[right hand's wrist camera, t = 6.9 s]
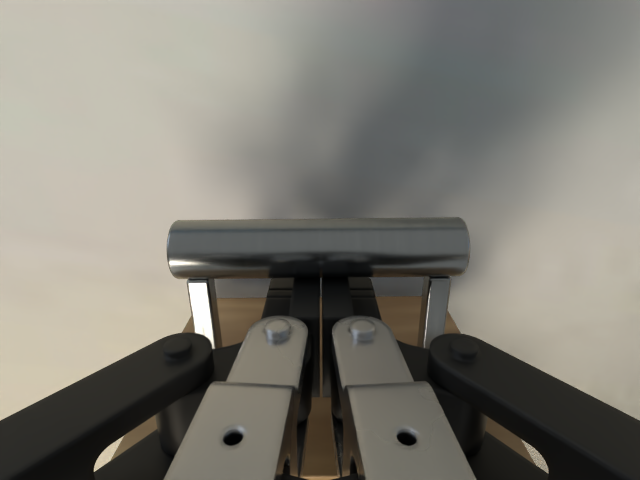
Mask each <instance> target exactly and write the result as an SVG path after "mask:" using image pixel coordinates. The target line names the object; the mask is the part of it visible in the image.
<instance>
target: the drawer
mask: <svg viewBox="0 0 640 480" xmlns="http://www.w3.org/2000/svg"><path fill="white" fill-rule="evenodd" d="M469 257H470V239H469V233H468V229H467V226H466V224H465V222H464V220H463V219H461V218H459V217H436V218H342V219H249V220H178V221H175V222H174V223H173V224H172V226H171V228H170V231H169V234H168V240H167V260H168V265H169V269H170V271H171V273H172V275H173V276H174V277H175V278H177V279H188V280H187V287H188V294H189V300H190V307H191V313H192V316H191V317H190V319H189V321H188V323H187V325H186V326H185V328H184V330H183V332H182V333H187V332H189V333H198V334H202V335H204V336H206V337H207V338H208V339H209V340H210V341H211V343H212V349H216V348H221V347H226V346H230V345H234V344H237V343H240V342H242V341H244V339H245V336H246V334H247V332H248V330H249V328H250V327H251V326H252V325H253V324H254V323H255V322H257V321H259V320H261V317H262V313H263V309H264V305H265V301H266V298H217V297H216V289H215V281H214V279H233V278H332V277H424V280H423V291H422V296H398V297H375V298H376V300H377V304H378V308H379V311H380V315H381V319H382V321H383V322H385V323H386V324H387V325H388V326H389V327H390V328H391V330H392V332H393V334H394V337H395V339H397V340H399V341H401V342H403V343H406V344H409V345H413V346H418V347H423V348H427V349H429V347H430V343H431V341H432V340H433V339H434V338H435V337H437V336H439V335H442V334H448V333H458V334H461V333H460V331H459V330H458V328H457V326H456V324H455V322H454V321H453V319H452V317H451V315H450V314H449V312H448V310H447V309H448V301H449V293H450V286H451V278H450V276H461V275H463V274H464V273H465V271H466V269H467V267H468V263H469ZM156 429H157V424H156V419H155V415H154V416H153V417H151V418H150V419H148V420H147V421H145V422H144V423H142V424H141V425H139V426H138V427H136V428H135V429H133V430H132V431H130V432H129V433H127V434H125V436H124V437H123V439H122V441H121V443H120V445H119V446H118V448H117V450H116V452H115V453H114V455H113V457H112V459H111V460H113V459H114V458H116V457H117V456H118V455H120V454H121V453H123V452H124V451H126V450H127V449H129V448H130V447H132V446H133V445H134V444H136V443H137V442H139V441H140V440H142V439H143V438H145V437H146V436H147V435H149V434H150V433H152V432H153V431H155V430H156ZM485 431H487V432H488V433H490V434H491V435H493V436H494V437H495V438H497V439H498V440H500V441H501V442H503V443H504V444H506V445H507V446H509V447H510V448H511V449H513V450H514V451H516V452H517V453H519V454H520V455H522V456H523V457H524V458H526V459H527V460H529V461H530V462H532V463H533V464H535V463H534V461H533V459H532V458H531V456H530V454H529V452H528V451H527V449H526V447H525V445H524V444H523V442H522V440H521V438H519V437H518V436H516V435H515V434H513V433H511V432H510V431H508V430H507V429H505V428H504V427H502V426H501V425H499V424H498V423H496V422H495V421H493V420H492V419H490V418H489V417H488V419H487V424H486V429H485ZM302 478H304V479H308V480H332V479H336V478H338V477H337V469H336V461H335V453H334V445H333V437H332V429H331V397H323V388H322V297H320V397H312V407H311V412H310V414H309V429H308V437H307V445H306V453H305V461H304V468H303V476H302Z"/></svg>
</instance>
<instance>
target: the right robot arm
mask: <svg viewBox="0 0 640 480" xmlns="http://www.w3.org/2000/svg"><path fill="white" fill-rule="evenodd" d="M322 388H323V397H331V429H332V437H333V445H334V453H335V461H336V469H337V477H338V478H336V479H332V480H640V421H639V420H637V419H635V418H633V417H631V416H629V415H627V414H625V413H623V412H622V411H620V410H618V409H616V408H614V407H612V406H610V405H608V404H606V403H604V402H602V401H600V400H598V399H596V398H594V397H592V396H590V395H588V394H586V393H584V392H582V391H580V390H578V389H576V388H574V387H572V386H570V385H568V384H566V383H565V382H563V381H561V380H559V379H557V378H555V377H553V376H551V375H549V374H547V373H545V372H543V371H541V370H539V369H537V368H535V367H533V366H531V365H529V364H527V363H525V362H523V361H521V360H519V359H517V358H515V357H513V356H511V355H510V354H508V353H506V352H504V351H502V350H500V349H498V348H496V347H494V346H492V345H490V344H488V343H486V342H484V341H482V340H480V339H478V338H475V337H472V336H469V335H465V334H458V333H448V334H442V335H439V336H437V337H435V338H434V339H433V340H432V341H431V343H430V347H429V349H427V348H423V347H418V346H413V345H409V344H406V343H403V342H401V341H399V340H397V339H395V337H394V334H393V332H392V330H391V328H390V327H389V326H388V325H387V324H386V323H385V322H383V321H382V319H381V315H380V311H379V308H378V304H377V300H376V298H375V293H374V290H373V286H372V282H371V279H370V278H368V277H332V278H322ZM312 397H320V278H273V279H271V282H270V286H269V290H268V294H267V298H266V301H265V305H264V309H263V313H262V317H261V320H259V321H257V322H255V323H254V324H253V325H252V326H251V327H250V328H249V330H248V332H247V334H246V336H245V339H244V341H242V342H240V343H237V344H234V345H230V346H226V347H221V348H216V349H212V343H211V341H210V340H209V339H208V338H207V337H206V336H204V335H202V334H198V333H189V332H187V333H178V334H173V335H170V336H167V337H164V338H162V339H160V340H158V341H156V342H154V343H152V344H150V345H148V346H146V347H144V348H142V349H140V350H138V351H136V352H134V353H132V354H130V355H129V356H127V357H125V358H123V359H121V360H119V361H117V362H115V363H113V364H111V365H109V366H107V367H105V368H103V369H101V370H99V371H97V372H95V373H93V374H91V375H89V376H87V377H85V378H83V379H81V380H79V381H77V382H75V383H74V384H72V385H70V386H68V387H66V388H64V389H62V390H60V391H58V392H56V393H54V394H52V395H50V396H48V397H46V398H44V399H42V400H40V401H38V402H36V403H34V404H32V405H30V406H28V407H26V408H24V409H22V410H20V411H19V412H17V413H15V414H13V415H11V416H9V417H7V418H5V419H3V420H1V421H0V480H308V479H304V478H302V476H303V468H304V461H305V453H306V445H307V437H308V429H309V414H310V412H311V407H312ZM154 415H155V419H156V424H157V429H156V430H155V431H153V432H152V433H150V434H149V435H147V436H146V437H145V438H143V439H142V440H140V441H139V442H137V443H136V444H134V445H133V446H132V447H130V448H129V449H127V450H126V451H124V452H123V453H121V454H120V455H118V456H117V457H116V458H114V459H113V460H111V461H110V462H108V463H107V464H105V465H104V466H102V467H101V468H100V469H98V470H97V471H95V472H94V465H95V463H96V460H97V459H98V457H99V455H100V454H101V453H102V452H103V451H104V449H106V448H107V447H108V446H109V445H110V444H112V443H113V442H115V441H116V440H118V439H119V438H121V437H122V436H124V435H125V434H127V433H129V432H130V431H132V430H133V429H135V428H136V427H138V426H139V425H141V424H142V423H144V422H145V421H147V420H148V419H150V418H151V417H153V416H154ZM488 417H489V418H490V419H492V420H493V421H495V422H496V423H498V424H499V425H501V426H502V427H504V428H505V429H507V430H508V431H510V432H511V433H513V434H515V435H516V436H518V437H519V438H521V439H522V440H524V441H525V442H527V443H528V444H530V445H531V446H533V447H534V448H535V449H536V450H537V451H538V452H539V453H540V454H541V455H542V457H543V458H544V459H545V461H546V463H547V466H548V469H549V474H548V473H546V472H545V471H543V470H542V469H540V468H539V467H538V466H536V465H535V464H533V463H532V462H530V461H529V460H527V459H526V458H524V457H523V456H522V455H520V454H519V453H517V452H516V451H514V450H513V449H511V448H510V447H509V446H507V445H506V444H504V443H503V442H501V441H500V440H498V439H497V438H495V437H494V436H493V435H491V434H490V433H488V432H487V431H485V429H486V424H487V419H488Z"/></svg>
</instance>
